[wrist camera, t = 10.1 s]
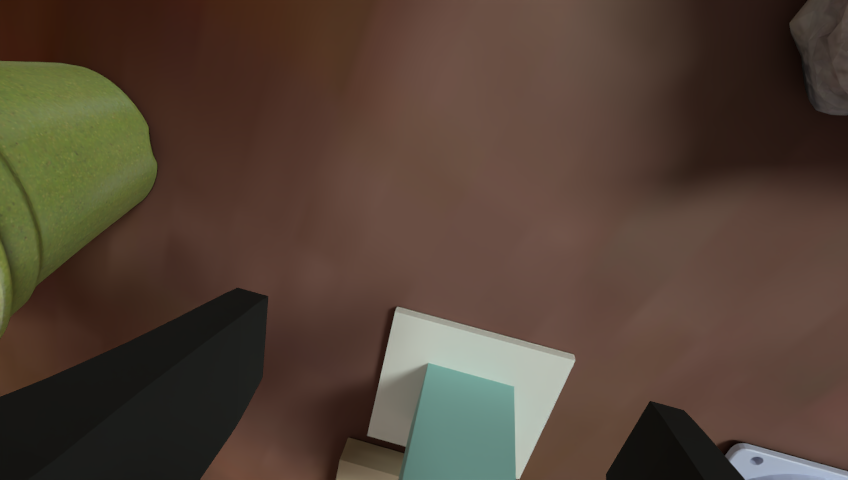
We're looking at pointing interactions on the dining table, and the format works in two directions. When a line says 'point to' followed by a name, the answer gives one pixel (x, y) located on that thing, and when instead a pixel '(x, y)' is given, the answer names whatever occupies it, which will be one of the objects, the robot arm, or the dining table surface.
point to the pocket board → (368, 462)
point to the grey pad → (473, 354)
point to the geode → (824, 53)
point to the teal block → (461, 429)
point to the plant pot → (62, 169)
